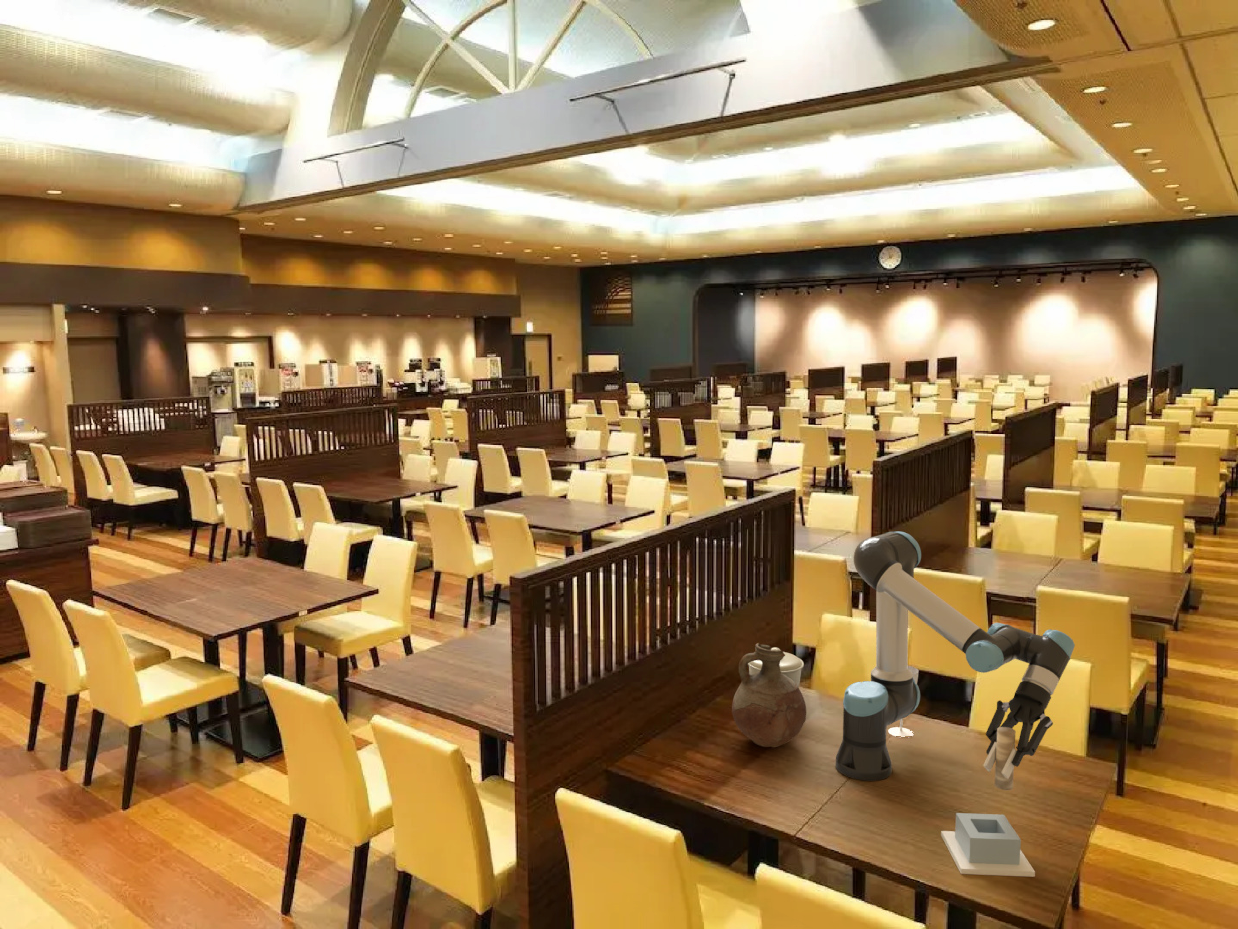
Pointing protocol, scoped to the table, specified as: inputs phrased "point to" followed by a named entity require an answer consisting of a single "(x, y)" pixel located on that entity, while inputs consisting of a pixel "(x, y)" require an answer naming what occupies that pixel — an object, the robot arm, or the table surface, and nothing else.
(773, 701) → the jug
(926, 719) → the table surface
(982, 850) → the socket block
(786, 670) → the canister
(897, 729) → the wineglass
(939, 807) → the table surface
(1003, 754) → the birch peg
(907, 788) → the table surface
